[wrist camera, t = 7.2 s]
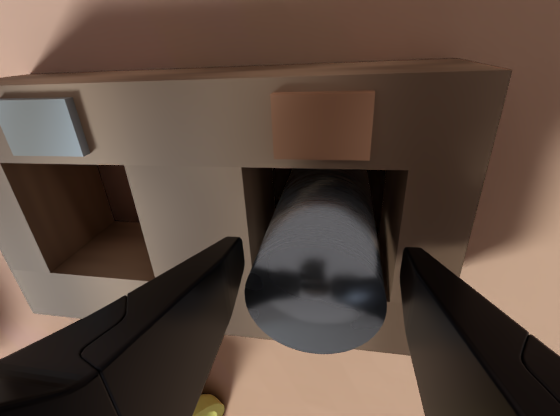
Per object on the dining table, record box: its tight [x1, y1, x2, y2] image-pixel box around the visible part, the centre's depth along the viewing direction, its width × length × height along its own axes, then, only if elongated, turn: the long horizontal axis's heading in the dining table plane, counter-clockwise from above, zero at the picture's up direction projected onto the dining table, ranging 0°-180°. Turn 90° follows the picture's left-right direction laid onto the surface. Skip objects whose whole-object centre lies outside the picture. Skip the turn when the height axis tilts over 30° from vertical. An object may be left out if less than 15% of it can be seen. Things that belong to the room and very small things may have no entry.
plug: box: [244, 168, 387, 354], centre depth 10 cm, size 3×3×7 cm
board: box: [0, 58, 512, 356], centre depth 12 cm, size 16×9×4 cm, turn 93°
